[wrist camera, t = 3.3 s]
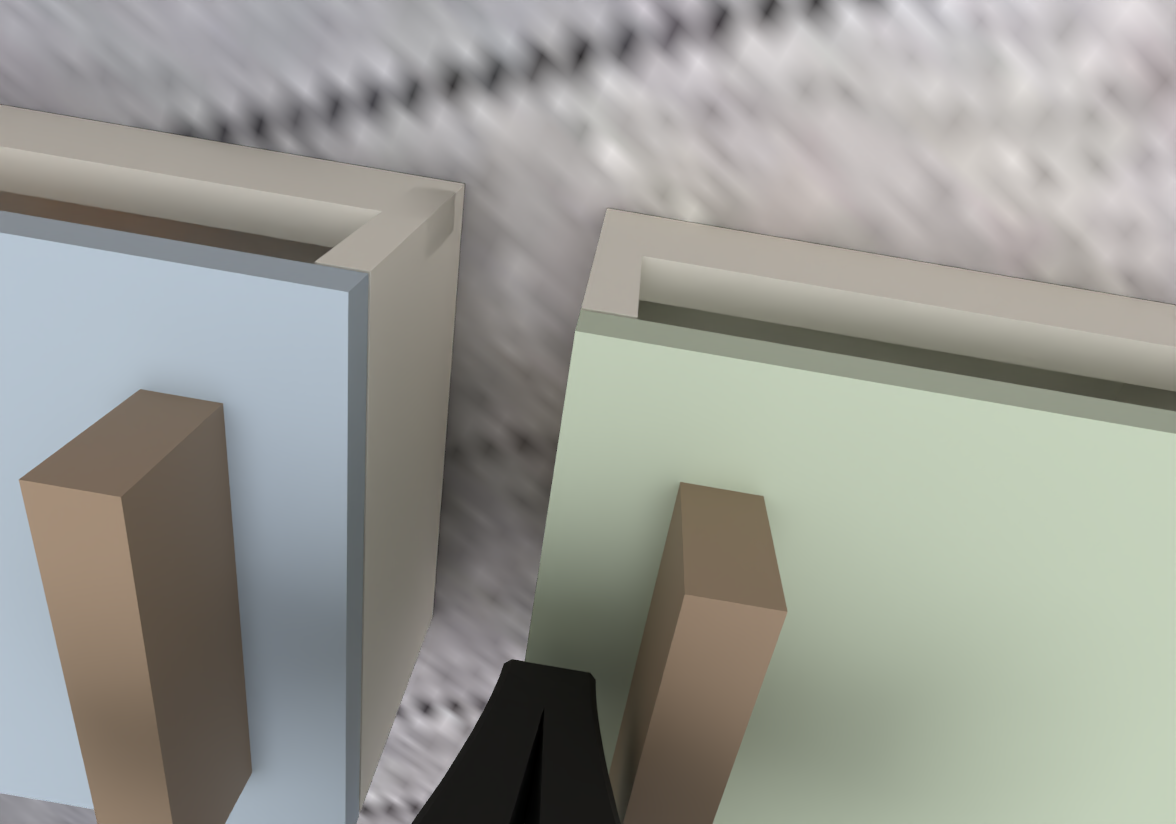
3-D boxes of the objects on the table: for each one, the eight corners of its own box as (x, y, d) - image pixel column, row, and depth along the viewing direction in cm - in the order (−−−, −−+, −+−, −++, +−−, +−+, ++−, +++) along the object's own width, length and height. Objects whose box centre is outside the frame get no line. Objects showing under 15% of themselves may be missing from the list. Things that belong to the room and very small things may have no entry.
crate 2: (963, 708, 22) (1059, 933, 17) (538, 634, 22) (499, 836, 17) (1177, 305, 16) (1426, 452, 11) (607, 208, 16) (581, 307, 11)
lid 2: (1062, 938, 17) (1144, 1130, 14) (498, 840, 17) (465, 1013, 14) (1432, 455, 11) (1703, 614, 8) (580, 309, 11) (553, 416, 8)
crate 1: (432, 616, 22) (360, 812, 17) (10, 543, 22) (-197, 715, 17) (464, 183, 16) (370, 271, 11) (-103, 87, 16) (-468, 128, 11)
